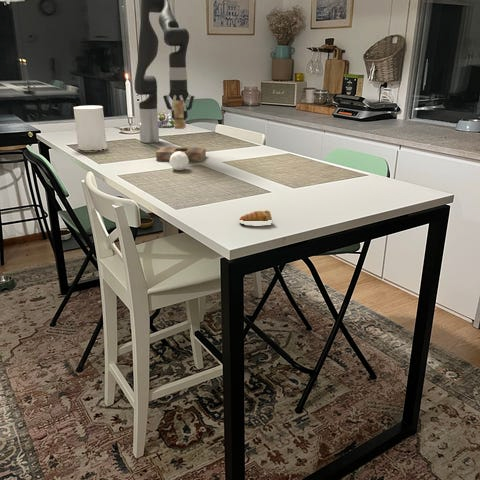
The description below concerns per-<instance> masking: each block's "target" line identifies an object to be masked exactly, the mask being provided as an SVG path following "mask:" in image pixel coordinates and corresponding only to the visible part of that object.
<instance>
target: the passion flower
mask: <svg viewBox="0 0 480 480" xmlns="http://www.w3.org/2000/svg"><path fill="white" fill-rule="evenodd" d="M170 115H171V112H169V113H166V111H165V110H163V111H160V112H158V127H160V128H161V129H163V128H164V126H168V123H170V124H171V126H172V127H173V128H175V122H174V119H173V118H172V116H170Z"/></svg>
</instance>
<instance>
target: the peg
mask: <svg viewBox="0 0 480 480" xmlns="http://www.w3.org/2000/svg"><path fill="white" fill-rule="evenodd" d="M173 101H174V120H173V121H174V123H175V124H174V129H176V130H184V129H186V126H187V125H186V120H184V109H183V101H181V100H172V102H173Z"/></svg>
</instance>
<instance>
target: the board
mask: <svg viewBox="0 0 480 480" xmlns="http://www.w3.org/2000/svg"><path fill="white" fill-rule="evenodd" d="M206 149H207V148H206V147H192V146H191V147H190V146H189V147H187V146H185V147H183V146H181V147H180V146H162V147H161V148H159V149H158V150H156V151H155V158H156V159H155V161H157V162H170V157H171V155H172V154H173V153H175V152H178V151H180V152H184V153H185V154H186V155H187V157H188V160H189V162H188V163H201V162H203V160H204V159H205V158H206V157H207V156H206V155H207V153H206V152H207V151H206Z"/></svg>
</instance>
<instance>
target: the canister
mask: <svg viewBox="0 0 480 480" xmlns="http://www.w3.org/2000/svg"><path fill="white" fill-rule="evenodd" d="M73 113H74V114H73V115H74V122H75V123H74V124H75V132H76V141H77V148H78V149H77V150H79V149H81V150H100V151H103V150H102V149H104V150H106V148H107V147H108V145H107V137H106V126H105V117H104V116H105V115H104V106H102V105H79V106H73ZM107 149H108V148H107Z"/></svg>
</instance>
